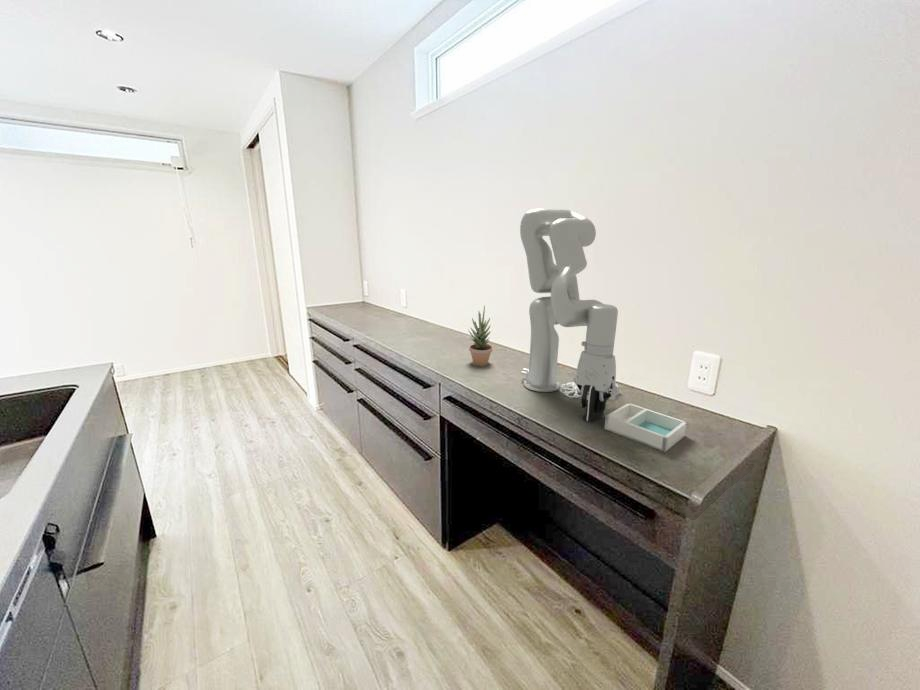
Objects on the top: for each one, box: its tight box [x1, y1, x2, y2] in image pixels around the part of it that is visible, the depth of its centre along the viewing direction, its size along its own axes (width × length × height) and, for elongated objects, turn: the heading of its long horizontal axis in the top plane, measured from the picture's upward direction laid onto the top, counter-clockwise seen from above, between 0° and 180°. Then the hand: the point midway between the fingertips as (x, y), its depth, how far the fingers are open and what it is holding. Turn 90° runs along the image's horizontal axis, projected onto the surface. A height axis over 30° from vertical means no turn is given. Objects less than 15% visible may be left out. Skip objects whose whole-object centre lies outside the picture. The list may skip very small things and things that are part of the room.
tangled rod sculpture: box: [558, 381, 620, 399], centre depth 131 cm, size 19×14×4 cm
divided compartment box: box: [603, 402, 688, 453], centre depth 104 cm, size 16×13×4 cm
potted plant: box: [468, 305, 493, 367], centre depth 157 cm, size 10×10×25 cm
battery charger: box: [581, 385, 605, 422], centre depth 111 cm, size 7×4×11 cm, turn 125°
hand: (592, 408), depth 112 cm, fingers closed on battery charger, 4 cm apart
